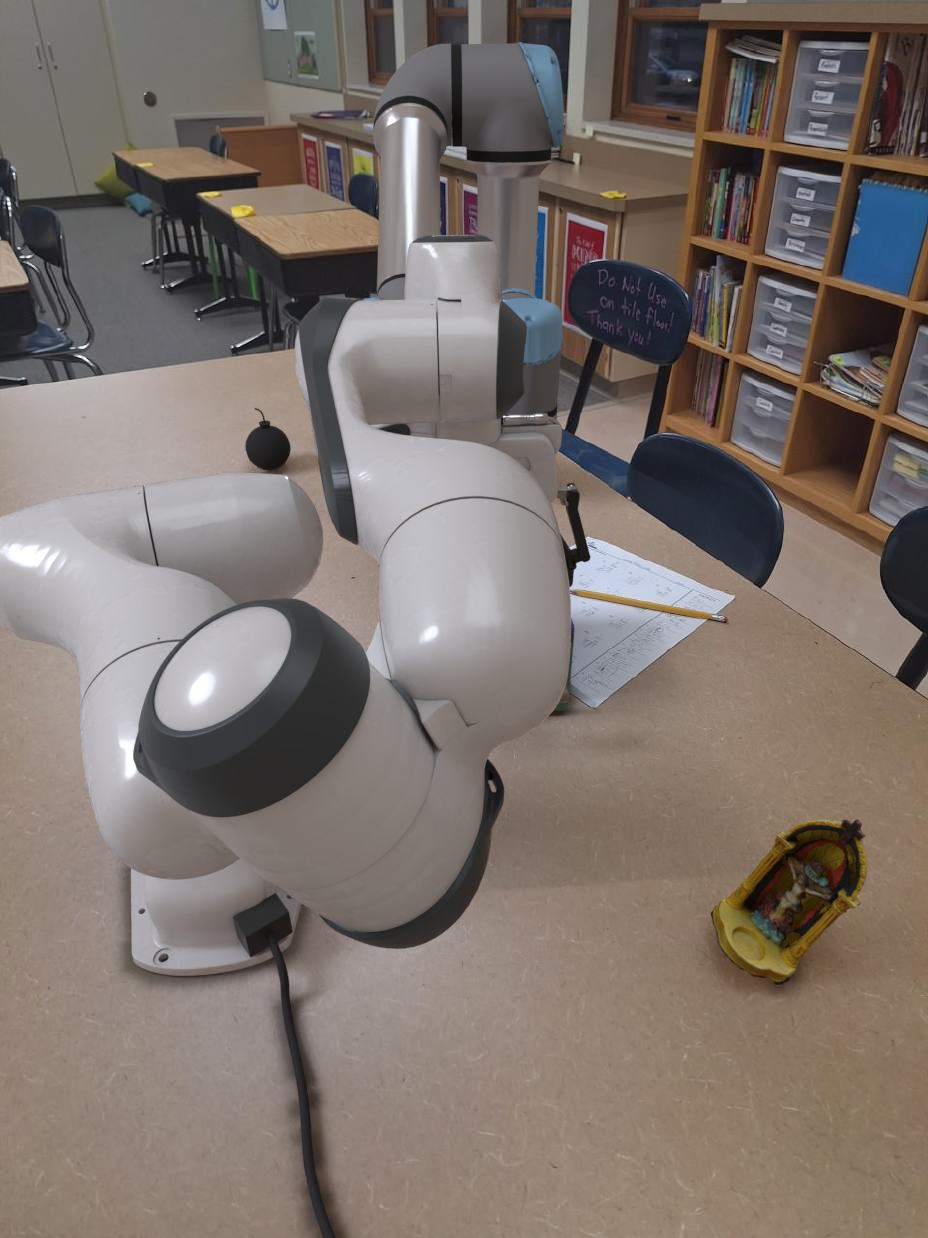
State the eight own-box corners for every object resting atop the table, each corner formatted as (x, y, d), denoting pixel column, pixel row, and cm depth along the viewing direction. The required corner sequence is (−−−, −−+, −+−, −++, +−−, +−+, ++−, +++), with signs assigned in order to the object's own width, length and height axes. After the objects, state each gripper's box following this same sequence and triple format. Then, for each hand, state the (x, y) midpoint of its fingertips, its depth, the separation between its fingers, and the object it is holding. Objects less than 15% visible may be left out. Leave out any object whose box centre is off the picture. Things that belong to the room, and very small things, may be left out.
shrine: (791, 892, 81) (830, 781, 73) (851, 966, 75) (901, 853, 66) (686, 929, 78) (714, 817, 69) (739, 1009, 72) (776, 896, 63)
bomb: (268, 455, 161) (259, 393, 154) (301, 464, 158) (294, 401, 151) (239, 471, 155) (229, 407, 149) (273, 481, 152) (264, 416, 145)
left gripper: (557, 399, 84) (550, 523, 92) (348, 407, 83) (359, 532, 91) (569, 424, 79) (560, 553, 87) (346, 433, 78) (358, 563, 86)
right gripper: (613, 429, 100) (597, 588, 113) (418, 436, 99) (424, 597, 112) (629, 456, 94) (610, 621, 107) (421, 465, 93) (427, 631, 105)
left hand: (456, 543), depth 89 cm, fingers open, 8 cm apart
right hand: (515, 608), depth 109 cm, fingers closed on cabinet, 10 cm apart
